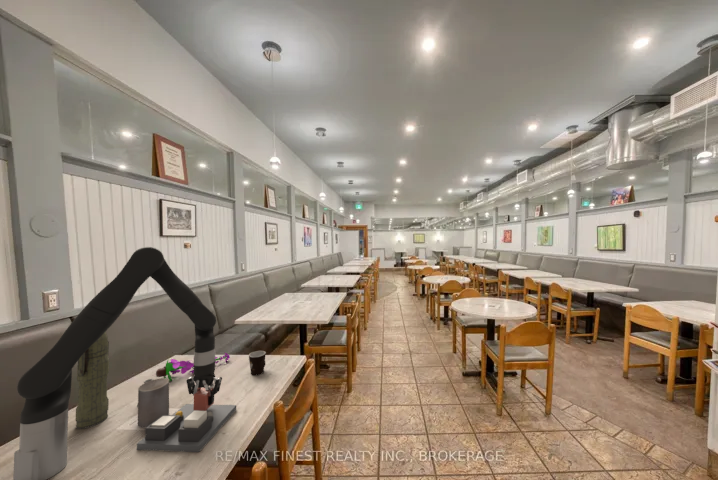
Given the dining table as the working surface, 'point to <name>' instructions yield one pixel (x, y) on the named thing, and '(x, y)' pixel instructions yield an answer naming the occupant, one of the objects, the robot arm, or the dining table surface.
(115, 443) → the dining table surface
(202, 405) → the cap
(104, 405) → the thermos
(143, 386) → the pillar candle
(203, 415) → the block
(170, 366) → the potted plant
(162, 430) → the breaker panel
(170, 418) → the button
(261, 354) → the coffee mug
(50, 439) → the robot arm
